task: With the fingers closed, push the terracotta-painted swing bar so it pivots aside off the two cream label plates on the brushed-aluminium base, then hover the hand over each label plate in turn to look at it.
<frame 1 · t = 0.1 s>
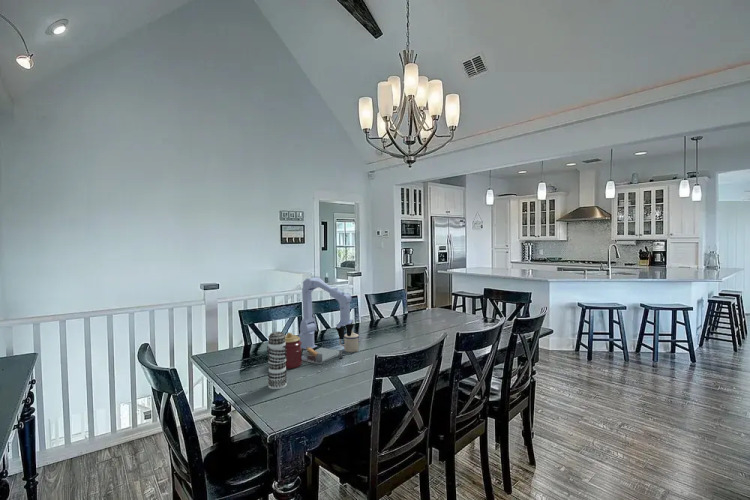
hand: (345, 337, 223), 10 cm above the table, tool pointing down, fingers open, 7 cm apart
canister: (290, 365, 207), on the table
decorative candle: (277, 385, 180), on the table
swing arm: (313, 353, 216), point 3 cm above the table, hinge at 150.0°
base plate: (320, 356, 221), on the table
teacup with lid: (349, 350, 233), on the table
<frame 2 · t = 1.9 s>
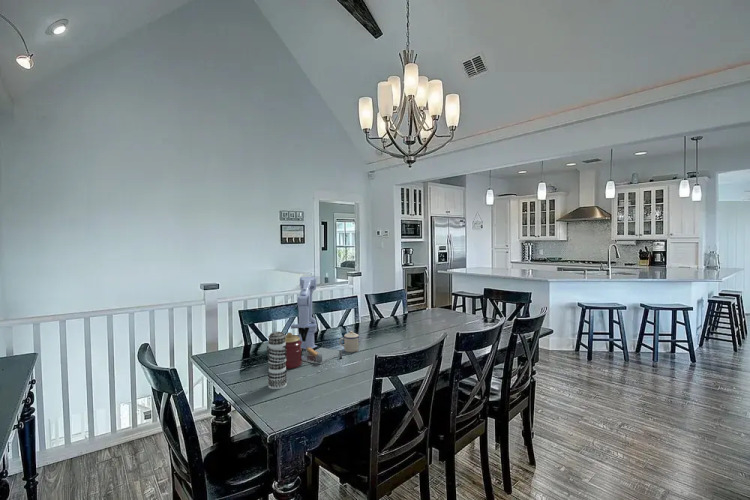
hand: (304, 340, 216), 10 cm above the table, tool pointing down, fingers closed
nothing on the table moved.
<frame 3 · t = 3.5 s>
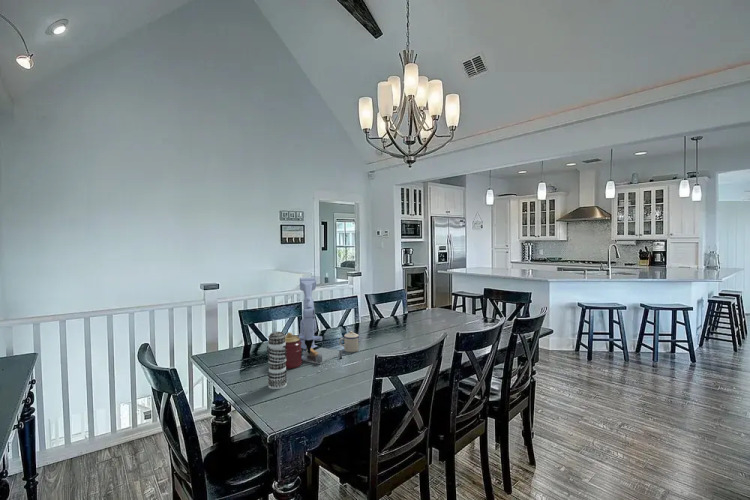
hand: (309, 353, 216), 3 cm above the table, tool pointing down, fingers closed, pressing on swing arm
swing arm: (313, 353, 216), point 3 cm above the table, hinge at 149.6°, touching gripper
everything else where it was.
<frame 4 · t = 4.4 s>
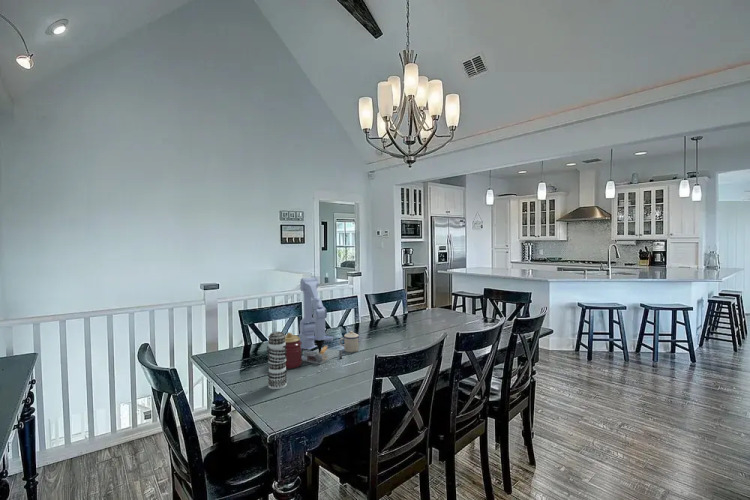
hand: (320, 353, 217), 3 cm above the table, tool pointing down, fingers closed, pressing on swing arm
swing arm: (322, 353, 217), point 3 cm above the table, hinge at 114.5°, touching gripper
everything else where it was.
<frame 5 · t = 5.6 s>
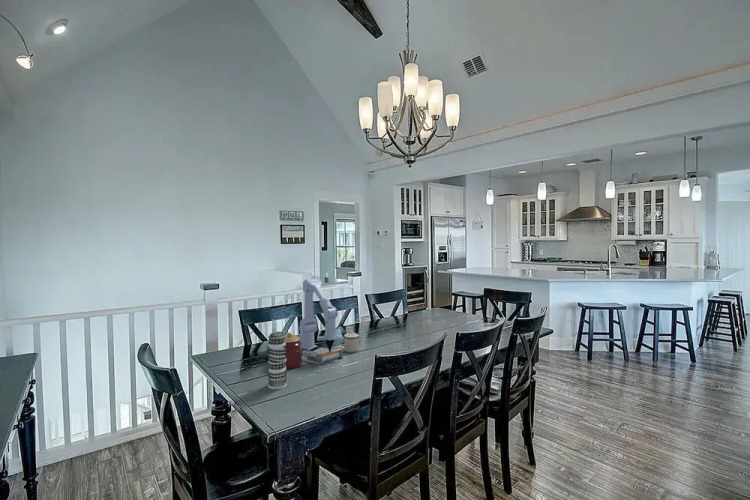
hand: (330, 352, 217), 3 cm above the table, tool pointing down, fingers closed, pressing on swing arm
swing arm: (331, 354, 214), point 3 cm above the table, hinge at 75.6°, touching base plate, gripper
everything else where it was.
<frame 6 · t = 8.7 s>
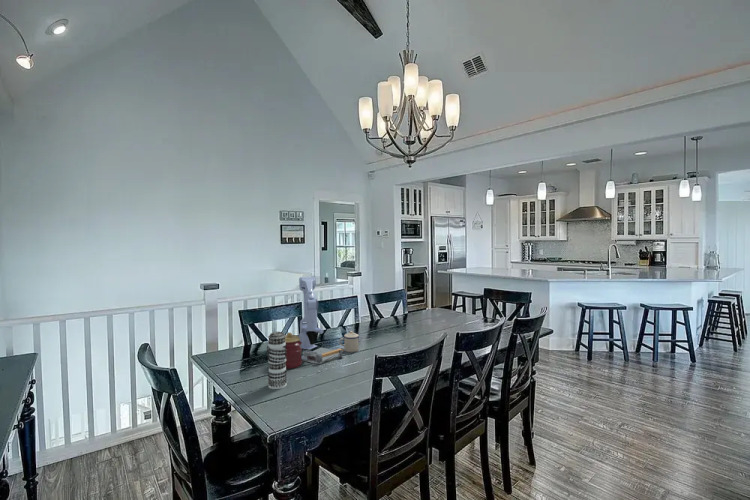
hand: (312, 344, 217), 8 cm above the table, tool pointing down, fingers closed
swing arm: (331, 354, 214), point 3 cm above the table, hinge at 75.6°, touching base plate
everything else where it was.
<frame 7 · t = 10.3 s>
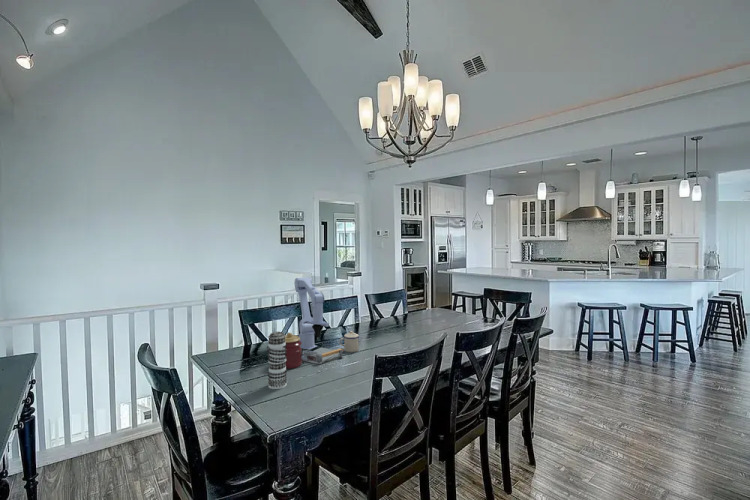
hand: (318, 337, 223), 10 cm above the table, tool pointing down, fingers closed
nothing on the table moved.
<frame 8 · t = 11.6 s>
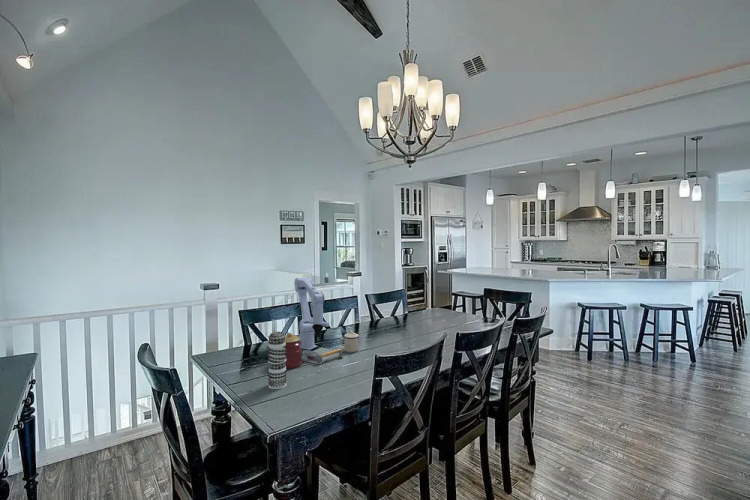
hand: (318, 337, 224), 10 cm above the table, tool pointing down, fingers closed
nothing on the table moved.
at the end: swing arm at +76° (first picture: +150°) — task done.
